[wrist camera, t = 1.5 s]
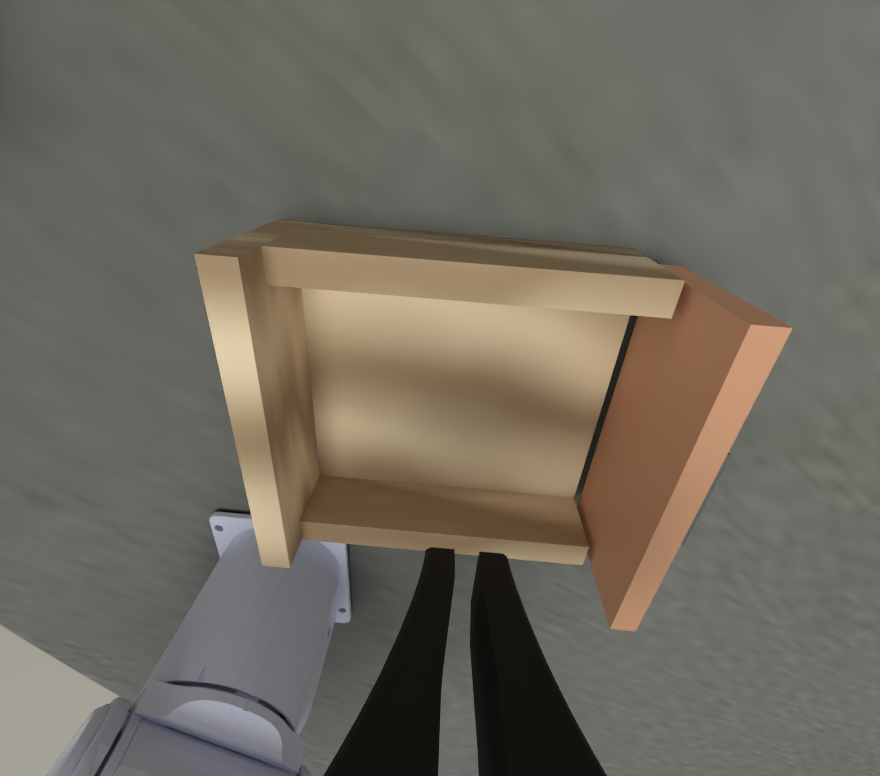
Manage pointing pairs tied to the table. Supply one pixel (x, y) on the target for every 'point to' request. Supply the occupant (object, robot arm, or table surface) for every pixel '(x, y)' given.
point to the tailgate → (670, 436)
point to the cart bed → (419, 382)
